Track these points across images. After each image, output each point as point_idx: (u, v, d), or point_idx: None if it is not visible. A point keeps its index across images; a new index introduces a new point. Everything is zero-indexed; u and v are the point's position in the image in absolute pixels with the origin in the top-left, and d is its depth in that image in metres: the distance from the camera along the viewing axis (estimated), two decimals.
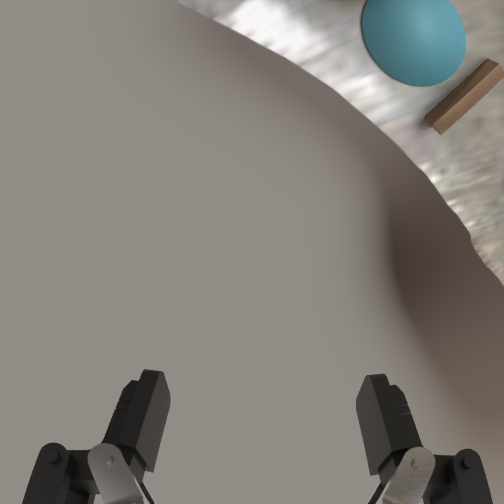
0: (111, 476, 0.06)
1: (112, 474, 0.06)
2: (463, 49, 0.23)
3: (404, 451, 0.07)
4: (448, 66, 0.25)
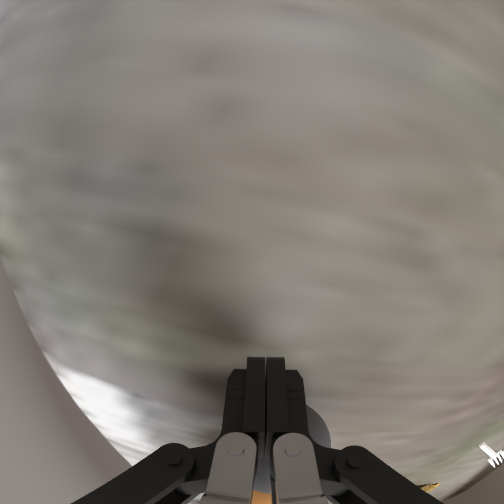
0: (249, 465, 0.07)
1: (233, 465, 0.07)
2: None
3: None
4: None
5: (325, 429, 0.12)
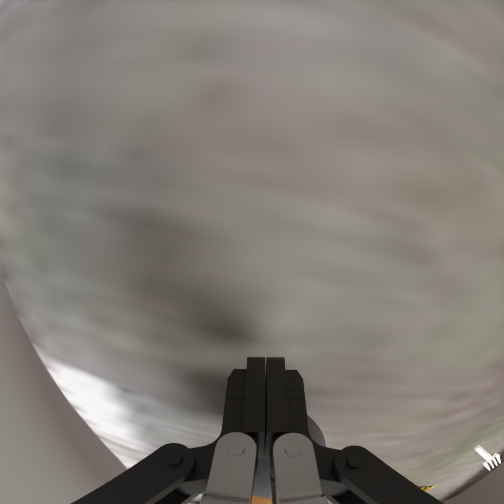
0: (249, 465, 0.07)
1: (233, 465, 0.07)
2: None
3: None
4: None
5: (321, 440, 0.12)
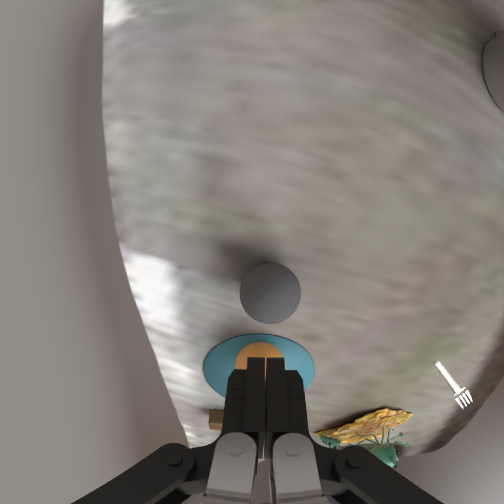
0: (249, 465, 0.07)
1: (233, 465, 0.07)
2: None
3: None
4: None
5: (296, 280, 0.26)
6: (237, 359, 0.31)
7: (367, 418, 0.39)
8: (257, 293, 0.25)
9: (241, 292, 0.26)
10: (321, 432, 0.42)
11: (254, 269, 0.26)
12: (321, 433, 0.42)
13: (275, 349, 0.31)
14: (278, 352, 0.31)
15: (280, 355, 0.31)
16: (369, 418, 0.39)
